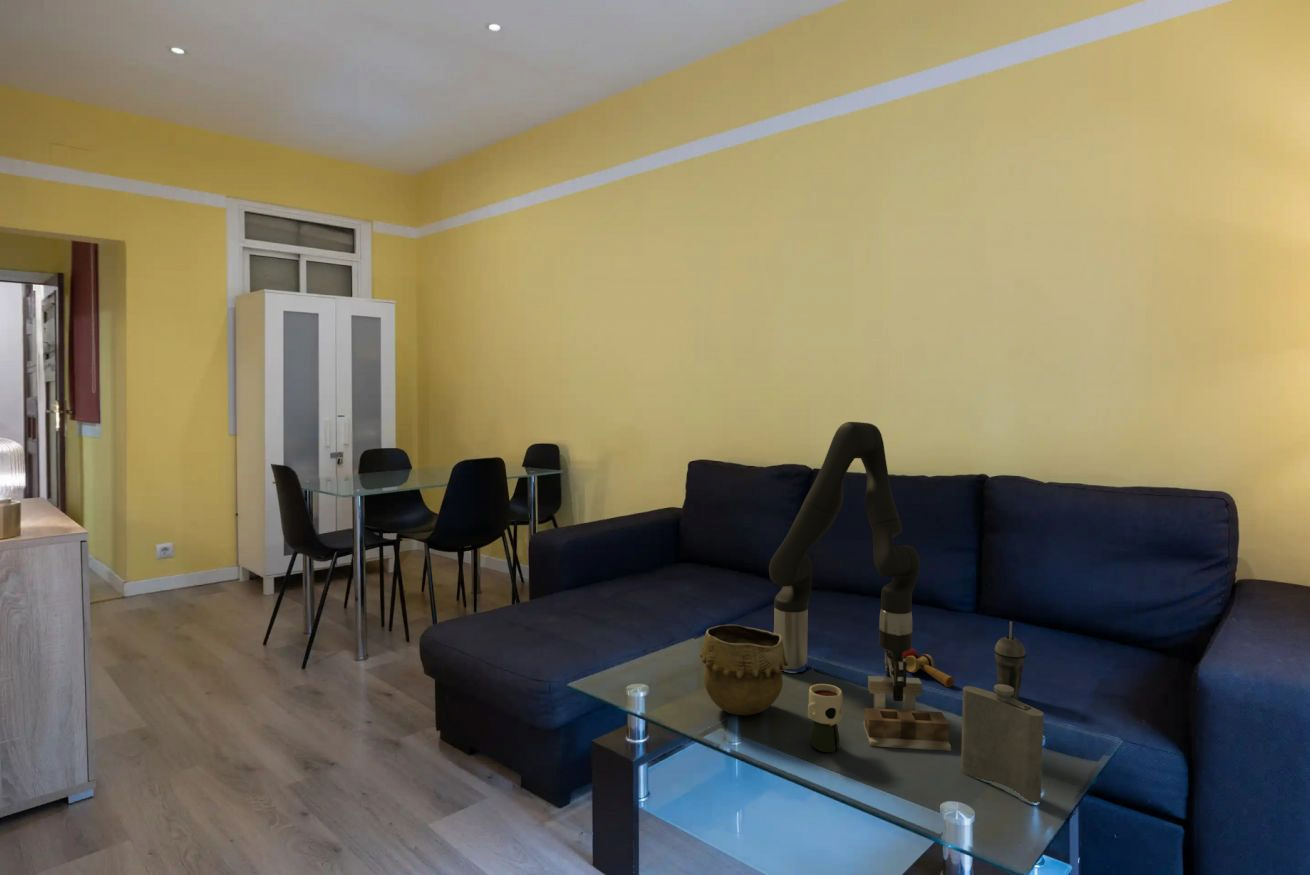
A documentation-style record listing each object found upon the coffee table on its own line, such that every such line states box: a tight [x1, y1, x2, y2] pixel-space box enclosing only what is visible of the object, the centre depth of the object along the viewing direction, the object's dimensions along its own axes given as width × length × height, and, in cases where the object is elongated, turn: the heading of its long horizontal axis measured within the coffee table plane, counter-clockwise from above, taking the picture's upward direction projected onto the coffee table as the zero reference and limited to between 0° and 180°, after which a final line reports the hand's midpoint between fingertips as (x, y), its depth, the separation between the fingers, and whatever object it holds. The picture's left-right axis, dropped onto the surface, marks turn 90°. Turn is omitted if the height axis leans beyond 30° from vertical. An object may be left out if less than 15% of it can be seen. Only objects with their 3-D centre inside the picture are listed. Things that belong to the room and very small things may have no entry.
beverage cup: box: [993, 620, 1027, 701], centre depth 184 cm, size 7×7×20 cm
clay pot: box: [699, 624, 789, 716], centre depth 176 cm, size 21×21×20 cm
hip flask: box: [960, 683, 1045, 803], centre depth 143 cm, size 16×4×20 cm, turn 35°
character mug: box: [807, 683, 843, 753], centre depth 159 cm, size 11×7×13 cm, turn 127°
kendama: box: [903, 647, 955, 688], centre depth 199 cm, size 8×6×18 cm
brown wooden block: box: [862, 707, 952, 752], centre depth 163 cm, size 17×10×5 cm, turn 83°
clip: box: [867, 675, 923, 711], centre depth 176 cm, size 12×3×8 cm, turn 83°
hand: (894, 693), depth 176 cm, fingers open, 8 cm apart
